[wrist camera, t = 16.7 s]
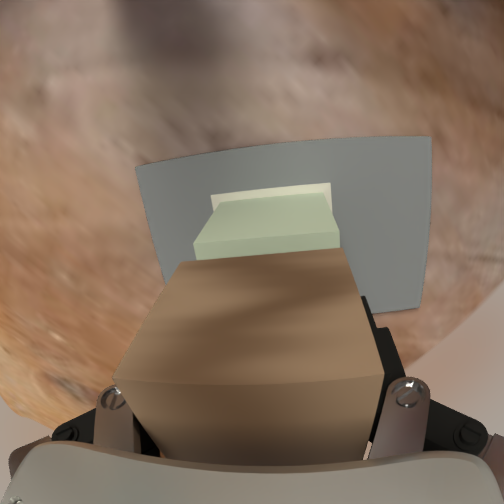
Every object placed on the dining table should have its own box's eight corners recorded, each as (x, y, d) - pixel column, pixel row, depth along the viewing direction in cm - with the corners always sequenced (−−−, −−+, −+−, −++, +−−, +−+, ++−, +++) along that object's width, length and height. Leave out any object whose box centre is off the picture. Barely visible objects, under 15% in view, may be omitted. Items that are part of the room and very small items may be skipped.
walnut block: (342, 247, 11) (384, 373, 6) (340, 366, 13) (354, 482, 8) (180, 261, 12) (111, 377, 6) (213, 372, 14) (185, 481, 9)
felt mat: (428, 136, 16) (431, 137, 15) (418, 304, 21) (420, 308, 20) (137, 166, 18) (134, 167, 18) (180, 322, 23) (178, 326, 23)
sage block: (322, 192, 18) (339, 230, 12) (327, 282, 20) (338, 344, 15) (220, 202, 18) (192, 243, 13) (236, 288, 21) (219, 350, 16)
